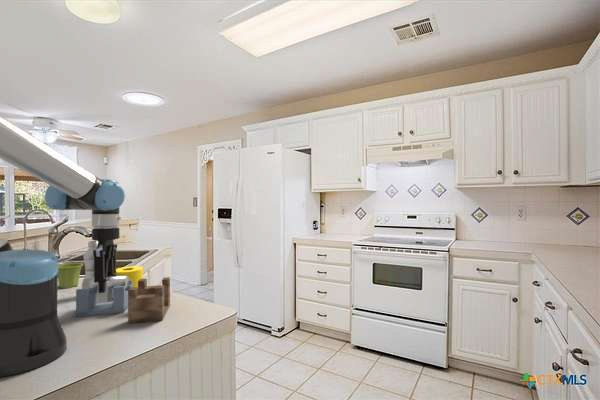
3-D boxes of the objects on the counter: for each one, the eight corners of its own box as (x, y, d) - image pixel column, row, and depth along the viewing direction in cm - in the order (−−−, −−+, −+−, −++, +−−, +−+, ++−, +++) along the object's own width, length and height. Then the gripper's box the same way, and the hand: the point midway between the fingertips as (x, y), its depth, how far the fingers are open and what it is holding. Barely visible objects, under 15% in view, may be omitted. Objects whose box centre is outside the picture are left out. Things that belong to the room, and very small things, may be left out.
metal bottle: (92, 298, 108) (92, 242, 108) (78, 296, 110) (78, 242, 110) (108, 293, 114) (108, 240, 114) (95, 291, 116) (95, 239, 116)
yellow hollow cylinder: (118, 300, 106) (118, 273, 106) (108, 294, 113) (108, 269, 113) (147, 293, 114) (147, 268, 114) (137, 288, 120) (137, 265, 120)
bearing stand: (170, 305, 100) (170, 277, 100) (162, 320, 88) (162, 287, 88) (140, 308, 98) (140, 278, 98) (128, 323, 86) (128, 290, 86)
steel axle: (81, 292, 94) (81, 279, 94) (87, 288, 98) (87, 276, 98) (124, 289, 97) (124, 277, 97) (128, 286, 100) (128, 274, 101)
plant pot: (82, 282, 131) (82, 262, 131) (83, 286, 123) (84, 265, 123) (54, 285, 125) (54, 265, 125) (54, 291, 117) (54, 268, 117)
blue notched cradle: (123, 312, 94) (123, 286, 94) (76, 316, 91) (76, 289, 91) (132, 303, 103) (132, 279, 103) (89, 306, 100) (89, 282, 100)
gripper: (109, 229, 90) (109, 307, 90) (127, 225, 106) (127, 291, 106) (80, 229, 88) (80, 310, 88) (103, 225, 105) (103, 293, 104)
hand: (105, 299), depth 97 cm, fingers closed on steel axle, 4 cm apart
